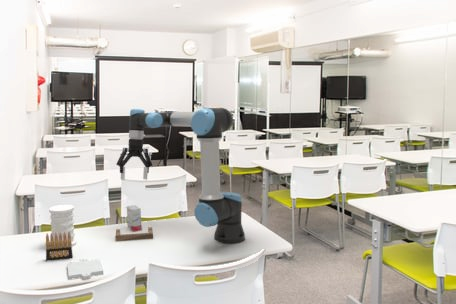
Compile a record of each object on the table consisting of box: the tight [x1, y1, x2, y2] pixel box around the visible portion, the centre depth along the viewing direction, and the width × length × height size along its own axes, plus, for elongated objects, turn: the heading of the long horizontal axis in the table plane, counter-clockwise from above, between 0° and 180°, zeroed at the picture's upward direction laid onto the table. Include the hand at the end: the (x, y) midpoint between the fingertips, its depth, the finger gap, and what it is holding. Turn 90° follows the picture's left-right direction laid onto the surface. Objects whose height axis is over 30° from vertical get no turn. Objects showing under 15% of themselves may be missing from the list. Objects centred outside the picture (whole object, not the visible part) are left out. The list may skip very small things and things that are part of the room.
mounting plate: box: [66, 258, 104, 281], centre depth 175 cm, size 18×13×2 cm
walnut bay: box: [114, 226, 154, 242], centre depth 216 cm, size 11×18×2 cm, turn 103°
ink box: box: [126, 204, 143, 232], centre depth 227 cm, size 9×5×12 cm, turn 34°
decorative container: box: [48, 204, 77, 247], centre depth 203 cm, size 12×12×18 cm
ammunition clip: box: [45, 232, 74, 262], centre depth 187 cm, size 11×2×12 cm, turn 106°
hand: (134, 179), depth 225 cm, fingers open, 13 cm apart
